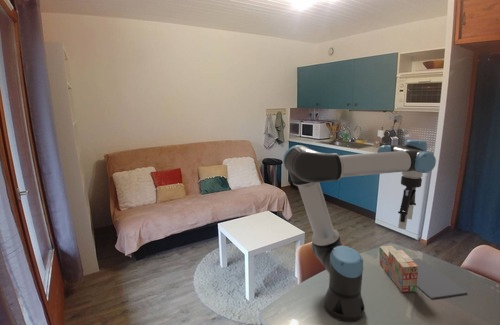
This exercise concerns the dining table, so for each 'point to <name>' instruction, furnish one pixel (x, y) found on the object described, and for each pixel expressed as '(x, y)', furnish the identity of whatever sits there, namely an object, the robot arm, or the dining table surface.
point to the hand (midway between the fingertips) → (405, 223)
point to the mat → (435, 282)
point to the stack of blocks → (399, 268)
